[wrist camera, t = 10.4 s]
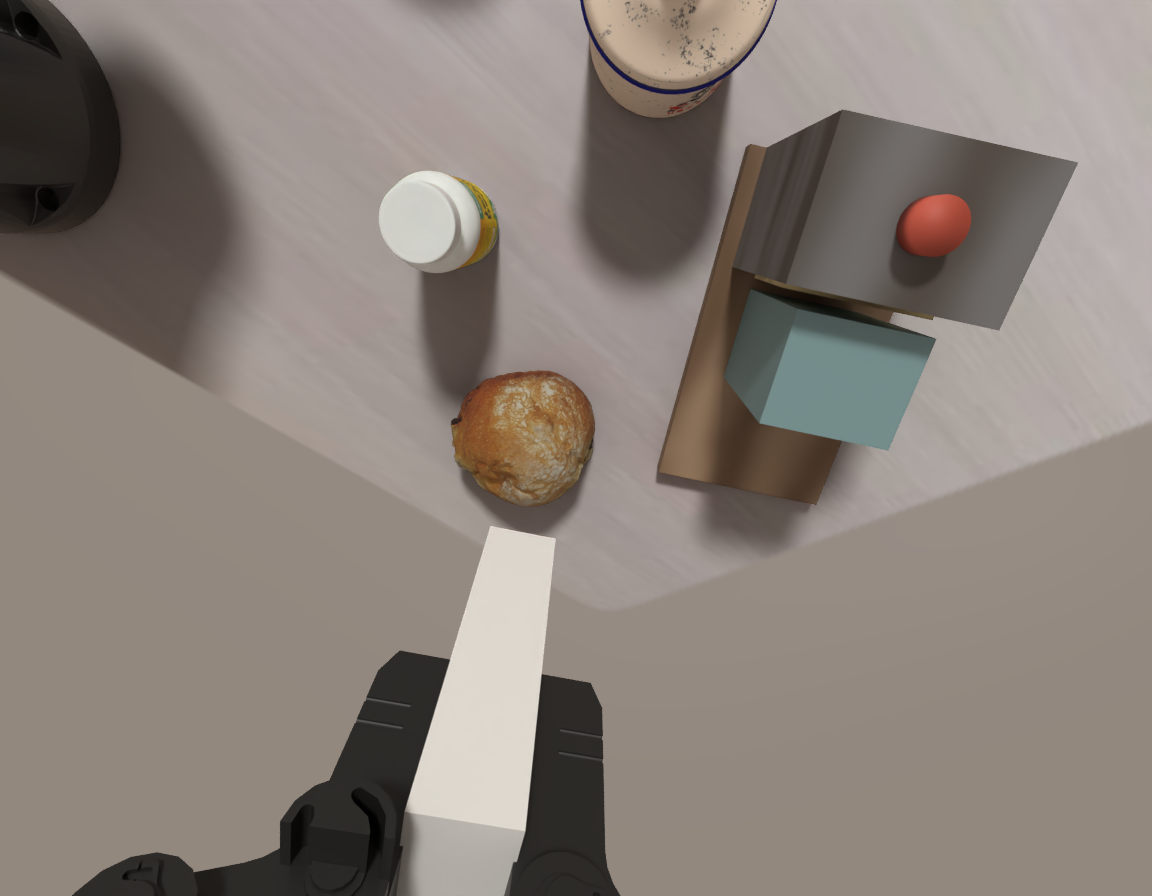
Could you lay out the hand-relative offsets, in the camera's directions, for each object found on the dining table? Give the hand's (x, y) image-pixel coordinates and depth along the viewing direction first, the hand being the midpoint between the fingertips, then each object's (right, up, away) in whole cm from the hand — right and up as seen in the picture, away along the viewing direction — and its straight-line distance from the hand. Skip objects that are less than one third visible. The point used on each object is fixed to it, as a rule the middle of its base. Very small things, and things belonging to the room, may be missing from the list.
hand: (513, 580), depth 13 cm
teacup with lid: (+7, +29, +20) cm, 36 cm away
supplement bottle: (-6, +18, +25) cm, 31 cm away
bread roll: (-2, +5, +30) cm, 31 cm away
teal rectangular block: (+16, +10, +25) cm, 31 cm away
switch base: (+16, +11, +26) cm, 32 cm away
